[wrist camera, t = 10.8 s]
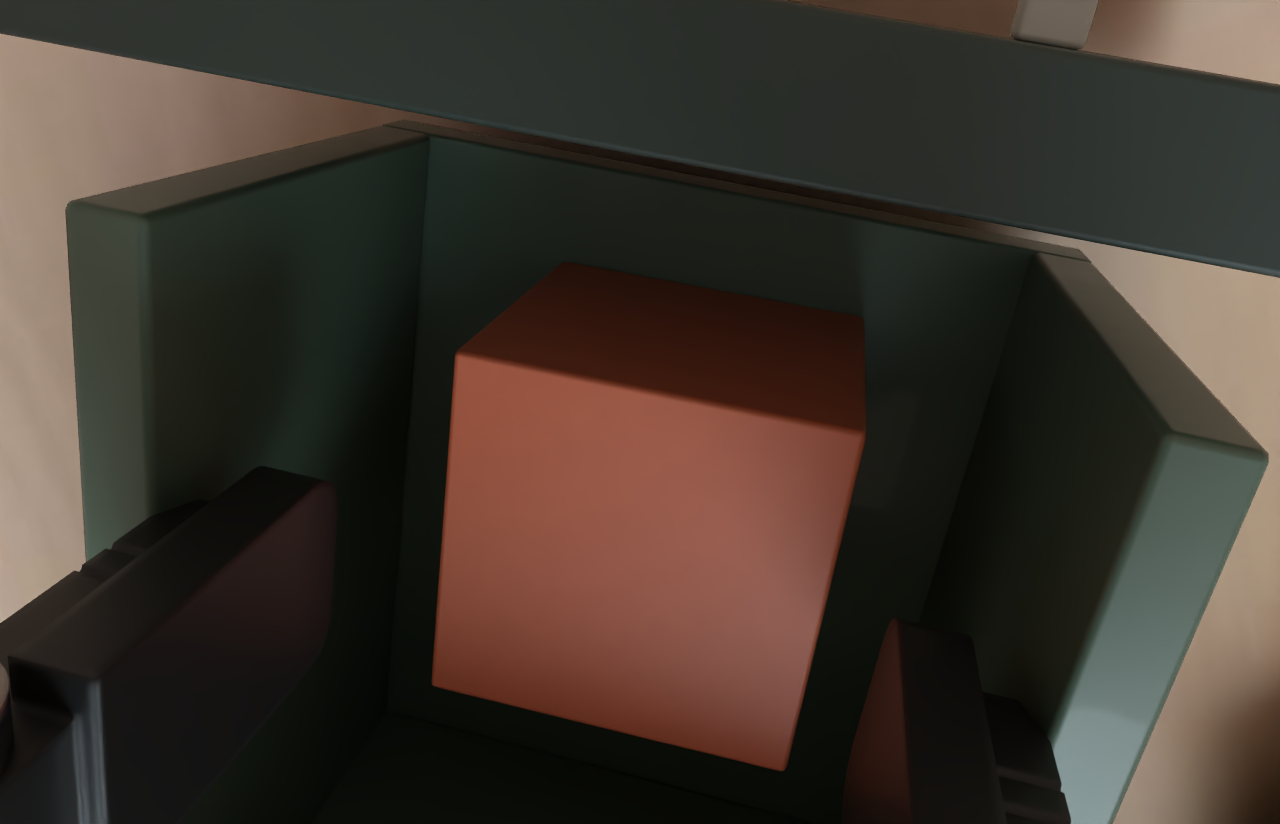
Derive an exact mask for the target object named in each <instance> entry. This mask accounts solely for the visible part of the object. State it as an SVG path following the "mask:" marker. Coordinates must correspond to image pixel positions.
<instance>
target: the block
mask: <svg viewBox="0 0 1280 824" xmlns="http://www.w3.org/2000/svg"><path fill="white" fill-rule="evenodd" d="M865 441H866V382H865V326H864V318H862V317H860V316H855V315H850V314H844V313H839V312H833V311H828V310H823V309H817V308H812V307H807V306H801V305H796V304H790V303H785V302H780V301H774V300H769V299H764V298H758V297H753V296H747V295H742V294H737V293H731V292H726V291H721V290H715V289H710V288H704V287H699V286H694V285H688V284H683V283H678V282H672V281H667V280H661V279H656V278H651V277H645V276H640V275H635V274H629V273H624V272H618V271H613V270H608V269H602V268H597V267H592V266H586V265H581V264H575V263H570V262H562V263H560V264H559V265H558V266H557V267H556V268H554V269H553V270H552V271H551V272H550V273H549V274H547V275H546V276H545V277H544V278H543V279H541V280H540V281H539V282H538V283H537V284H536V285H534V286H533V287H532V288H531V289H530V290H528V291H527V292H526V293H525V294H524V295H523V296H521V297H520V298H519V299H518V300H517V301H515V302H514V303H513V304H512V305H511V306H509V307H508V308H507V309H506V310H505V311H504V312H502V313H501V314H500V315H499V316H498V317H496V318H495V319H494V320H493V321H492V322H491V323H489V324H488V325H487V326H486V327H485V328H483V329H482V330H481V331H480V332H479V333H478V334H476V335H475V336H474V337H473V338H472V339H470V340H469V341H468V342H467V343H466V344H464V345H463V346H462V347H461V348H460V349H459V350H457V352H456V354H455V364H454V378H453V391H452V405H451V419H450V433H449V446H448V460H447V474H446V488H445V501H444V515H443V529H442V543H441V556H440V570H439V584H438V598H437V612H436V625H435V639H434V653H433V667H432V685H433V686H435V687H438V688H442V689H446V690H450V691H455V692H459V693H463V694H467V695H471V696H475V697H479V698H483V699H487V700H491V701H495V702H500V703H504V704H508V705H512V706H516V707H520V708H524V709H528V710H532V711H536V712H540V713H545V714H549V715H553V716H557V717H561V718H565V719H569V720H573V721H577V722H581V723H585V724H589V725H594V726H598V727H602V728H606V729H610V730H614V731H618V732H622V733H626V734H630V735H634V736H639V737H643V738H647V739H651V740H655V741H659V742H663V743H667V744H671V745H675V746H679V747H683V748H688V749H692V750H696V751H700V752H704V753H708V754H712V755H716V756H720V757H724V758H728V759H733V760H737V761H741V762H745V763H749V764H753V765H757V766H761V767H765V768H769V769H773V770H778V771H784V770H785V768H786V767H787V764H788V760H789V756H790V752H791V748H792V744H793V739H794V735H795V731H796V727H797V723H798V719H799V715H800V710H801V706H802V702H803V698H804V694H805V690H806V686H807V681H808V677H809V673H810V669H811V665H812V661H813V657H814V652H815V648H816V644H817V640H818V636H819V632H820V628H821V623H822V619H823V615H824V611H825V607H826V603H827V599H828V594H829V590H830V586H831V582H832V578H833V574H834V570H835V566H836V561H837V557H838V553H839V549H840V545H841V541H842V537H843V532H844V528H845V524H846V520H847V516H848V512H849V508H850V503H851V499H852V495H853V491H854V487H855V483H856V479H857V474H858V470H859V466H860V462H861V458H862V454H863V450H864V445H865Z"/></svg>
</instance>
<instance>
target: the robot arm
mask: <svg viewBox="0 0 1280 824" xmlns="http://www.w3.org/2000/svg"><path fill="white" fill-rule="evenodd" d="M337 513H338V499H337V492H336V489H335V487H334V485H333V484H332V483H331V482H329V481H325V480H321V479H317V478H313V477H309V476H304V475H300V474H296V473H292V472H288V471H284V470H279V469H275V468H271V467H267V466H259V467H256V468H255V469H253V470H251V471H250V472H249V473H247V474H246V475H245V476H244V477H242V478H241V479H240V480H238V481H237V482H236V483H234V484H233V485H232V486H230V487H229V488H228V489H226V490H225V491H224V492H222V493H221V494H220V495H218V496H217V497H216V498H214V499H213V500H212V501H211V502H210V501H206V500H202V499H198V500H195V501H192V502H190V503H187V504H184V505H181V506H178V507H176V508H173V509H170V510H167V511H164V512H162V513H159V514H156V515H153V516H151V517H149V518H147V519H146V520H144V521H143V522H142V523H140V524H139V525H137V526H136V527H135V528H133V529H132V530H130V531H129V532H128V533H126V534H125V535H123V536H122V537H121V538H119V539H118V540H116V541H115V542H114V543H113V546H112V548H111V549H106V548H105V549H104V550H102V551H101V552H100V553H98V554H97V555H95V556H94V557H93V558H91V559H90V560H88V561H87V562H86V563H84V564H83V565H82V569H81V571H80V572H78V571H73V572H72V573H70V574H69V575H67V576H66V577H65V578H63V579H62V580H60V581H59V582H58V583H56V584H55V585H53V586H52V587H51V588H49V589H48V590H46V591H45V592H44V593H42V594H41V595H39V596H38V597H37V598H35V599H34V600H32V601H31V602H30V603H28V604H27V605H25V606H24V607H23V608H21V609H20V610H18V611H17V612H16V613H14V614H13V615H11V616H10V617H9V618H7V619H6V620H4V621H3V622H2V623H0V824H181V823H182V822H183V821H184V820H185V819H186V817H187V816H188V815H189V814H190V812H191V811H192V810H193V809H194V808H195V806H196V805H197V804H198V803H199V802H200V800H201V799H202V798H203V797H204V796H205V794H206V793H207V792H208V791H209V790H210V788H211V787H212V786H213V785H214V784H215V782H216V781H217V780H218V779H219V778H220V776H221V775H222V774H223V773H224V772H225V770H226V769H227V768H228V767H229V766H230V764H231V763H232V762H233V761H234V760H235V758H236V757H237V756H238V755H239V754H240V752H241V751H242V750H243V749H244V748H245V746H246V745H247V744H248V743H249V742H250V740H251V739H252V738H253V737H254V736H255V734H256V733H257V732H258V731H259V730H260V728H261V727H262V726H263V725H264V724H265V722H266V721H267V720H268V719H269V718H270V716H271V715H272V714H273V713H274V712H275V710H276V709H277V708H278V707H279V706H280V704H281V703H282V702H283V701H284V700H285V698H286V697H287V696H288V695H289V694H290V692H291V691H292V690H293V689H294V688H295V686H296V685H297V684H298V683H299V682H300V680H301V679H302V678H303V677H304V676H305V674H306V673H307V672H308V671H309V670H310V668H311V667H312V666H313V664H314V662H315V661H316V659H317V657H318V655H319V654H320V652H321V649H322V647H323V645H324V642H325V640H326V637H327V634H328V630H329V627H330V623H331V618H332V611H333V595H334V575H335V554H336V534H337ZM1061 786H1062V783H1061V779H1060V775H1059V772H1058V768H1057V764H1056V760H1055V757H1054V753H1053V749H1052V745H1051V742H1050V740H1049V739H1048V738H1047V737H1046V735H1045V734H1044V733H1043V731H1042V730H1041V729H1040V728H1039V726H1038V725H1037V724H1036V722H1035V721H1034V720H1033V719H1032V717H1031V716H1030V715H1029V713H1028V712H1027V711H1026V710H1025V708H1024V707H1023V706H1022V704H1021V703H1020V702H1019V701H1018V700H1015V699H1011V698H1007V697H1003V696H998V695H994V694H990V693H986V692H982V687H981V682H980V677H979V671H978V666H977V661H976V655H975V650H974V644H973V641H972V638H971V636H969V635H967V634H963V633H958V632H954V631H950V630H946V629H942V628H937V627H933V626H929V625H925V624H920V623H916V622H912V621H908V620H904V619H899V618H893V619H892V620H891V622H890V623H889V626H888V628H887V630H886V633H885V636H884V639H883V643H882V646H881V649H880V653H879V656H878V660H877V663H876V666H875V670H874V673H873V676H872V680H871V683H870V687H869V690H868V693H867V697H866V700H865V704H864V707H863V710H862V714H861V717H860V721H859V724H858V727H857V731H856V734H855V737H854V741H853V745H852V749H851V753H850V757H849V762H848V767H847V772H846V779H845V786H844V794H843V805H842V824H1071V816H1070V813H1069V809H1068V805H1067V802H1066V798H1065V794H1064V793H1063V792H1061Z"/></svg>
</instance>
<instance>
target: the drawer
mask: <svg viewBox="0 0 1280 824" xmlns="http://www.w3.org/2000/svg"><path fill="white" fill-rule="evenodd" d="M1098 1H1099V0H1019V1H1018V5H1017V8H1016V12H1015V16H1014V19H1013V23H1012V26H1011V30H1010V32H1011V37H1012V38H1013V39H1010V38H1004V37H998V36H992V35H986V34H980V33H974V32H968V31H962V30H957V29H951V28H945V27H939V26H933V25H927V24H921V23H915V22H909V21H903V20H898V19H892V18H886V17H880V16H874V15H868V14H862V13H856V12H850V11H844V10H839V9H833V8H827V7H821V6H815V5H809V4H803V3H797V2H791V1H785V0H0V33H1V34H6V35H11V36H17V37H22V38H27V39H32V40H38V41H43V42H48V43H53V44H59V45H64V46H69V47H74V48H79V49H85V50H90V51H95V52H100V53H106V54H111V55H116V56H121V57H127V58H132V59H137V60H142V61H148V62H153V63H158V64H163V65H169V66H174V67H179V68H184V69H189V70H195V71H200V72H205V73H210V74H216V75H221V76H226V77H231V78H237V79H242V80H247V81H252V82H258V83H263V84H268V85H273V86H278V87H284V88H289V89H294V90H299V91H305V92H310V93H315V94H320V95H326V96H331V97H336V98H341V99H347V100H352V101H357V102H362V103H368V104H373V105H378V106H383V107H388V108H394V109H399V110H404V111H409V112H415V113H420V114H425V115H430V116H436V117H441V118H446V119H451V120H457V121H462V122H467V123H472V124H477V125H483V126H488V127H493V128H498V129H504V130H509V131H514V132H519V133H525V134H530V135H535V136H540V137H546V138H551V139H556V140H561V141H566V142H572V143H577V144H582V145H587V146H593V147H598V148H603V149H608V150H614V151H619V152H624V153H629V154H635V155H640V156H645V157H650V158H656V159H661V160H666V161H671V162H676V163H682V164H687V165H692V166H697V167H703V168H708V169H713V170H718V171H724V172H729V173H734V174H739V175H745V176H750V177H755V178H760V179H765V180H771V181H776V182H781V183H786V184H792V185H797V186H802V187H807V188H813V189H818V190H823V191H828V192H834V193H839V194H844V195H849V196H855V197H860V198H865V199H870V200H875V201H881V202H886V203H891V204H896V205H902V206H907V207H912V208H917V209H923V210H928V211H933V212H938V213H944V214H949V215H954V216H959V217H964V218H970V219H975V220H980V221H985V222H991V223H996V224H1001V225H1006V226H1012V227H1017V228H1022V229H1027V230H1033V231H1038V232H1043V233H1048V234H1053V235H1059V236H1064V237H1069V238H1074V239H1080V240H1085V241H1090V242H1095V243H1101V244H1106V245H1111V246H1116V247H1122V248H1127V249H1132V250H1137V251H1143V252H1148V253H1153V254H1158V255H1163V256H1169V257H1174V258H1179V259H1184V260H1190V261H1195V262H1200V263H1205V264H1211V265H1216V266H1221V267H1226V268H1232V269H1237V270H1242V271H1247V272H1252V273H1258V274H1263V275H1268V276H1273V277H1279V278H1280V85H1278V84H1273V83H1267V82H1261V81H1255V80H1250V79H1244V78H1238V77H1233V76H1227V75H1221V74H1215V73H1210V72H1204V71H1198V70H1192V69H1187V68H1181V67H1175V66H1169V65H1163V64H1157V63H1151V62H1145V61H1139V60H1133V59H1128V58H1122V57H1116V56H1110V55H1104V54H1098V53H1092V52H1086V51H1080V50H1078V49H1081V48H1082V47H1083V46H1084V44H1085V43H1086V40H1087V37H1088V34H1089V30H1090V27H1091V24H1092V20H1093V17H1094V14H1095V11H1096V7H1097V4H1098ZM65 211H66V228H67V245H68V263H69V280H70V297H71V314H72V331H73V348H74V365H75V382H76V399H77V416H78V434H79V451H80V468H81V485H82V502H83V519H84V536H85V553H86V562H87V561H88V560H90V559H91V558H93V557H94V556H95V555H97V554H98V553H100V552H101V551H102V550H104V549H105V548H106V549H111V548H112V546H113V543H114V542H115V541H116V540H118V539H119V538H121V537H122V536H123V535H125V534H126V533H128V532H129V531H130V530H132V529H133V528H135V527H136V526H137V525H139V524H140V523H142V522H143V521H144V520H146V519H147V518H149V517H151V516H153V515H156V514H159V513H162V512H164V511H167V510H170V509H173V508H176V507H178V506H181V505H184V504H187V503H190V502H192V501H195V500H198V499H202V500H206V501H210V502H211V501H212V500H213V499H214V498H216V497H217V496H218V495H220V494H221V493H222V492H224V491H225V490H226V489H228V488H229V487H230V486H232V485H233V484H234V483H236V482H237V481H238V480H240V479H241V478H242V477H244V476H245V475H246V474H247V473H249V472H250V471H251V470H253V469H255V468H256V467H259V466H267V467H271V468H275V469H279V470H284V471H288V472H292V473H296V474H300V475H304V476H309V477H313V478H317V479H321V480H325V481H329V482H331V483H332V484H333V485H334V487H335V489H336V492H337V499H338V513H337V534H336V554H335V575H334V595H333V611H332V618H331V623H330V627H329V630H328V634H327V637H326V640H325V642H324V645H323V647H322V649H321V652H320V654H319V655H318V657H317V659H316V661H315V662H314V664H313V666H312V667H311V668H310V670H309V671H308V672H307V673H306V674H305V676H304V677H303V678H302V679H301V680H300V682H299V683H298V684H297V685H296V686H295V688H294V689H293V690H292V691H291V692H290V694H289V695H288V696H287V697H286V698H285V700H284V701H283V702H282V703H281V704H280V706H279V707H278V708H277V709H276V710H275V712H274V713H273V714H272V715H271V716H270V718H269V719H268V720H267V721H266V722H265V724H264V725H263V726H262V727H261V728H260V730H259V731H258V732H257V733H256V734H255V736H254V737H253V738H252V739H251V740H250V742H249V743H248V744H247V745H246V746H245V748H244V749H243V750H242V751H241V752H240V754H239V755H238V756H237V757H236V758H235V760H234V761H233V762H232V763H231V764H230V766H229V767H228V768H227V769H226V770H225V772H224V773H223V774H222V775H221V776H220V778H219V779H218V780H217V781H216V782H215V784H214V785H213V786H212V787H211V788H210V790H209V791H208V792H207V793H206V794H205V796H204V797H203V798H202V799H201V800H200V802H199V803H198V804H197V805H196V806H195V808H194V809H193V810H192V811H191V812H190V814H189V815H188V816H187V817H186V819H185V820H184V821H183V822H182V823H181V824H842V805H843V794H844V786H845V779H846V772H847V767H848V762H849V757H850V753H851V749H852V745H853V741H854V737H855V734H856V731H857V727H858V724H859V721H860V717H861V714H862V710H863V707H864V704H865V700H866V697H867V693H868V690H869V687H870V683H871V680H872V676H873V673H874V670H875V666H876V663H877V660H878V656H879V653H880V649H881V646H882V643H883V639H884V636H885V633H886V630H887V628H888V626H889V623H890V622H891V620H892V619H893V618H899V619H904V620H908V621H912V622H916V623H920V624H925V625H929V626H933V627H937V628H942V629H946V630H950V631H954V632H958V633H963V634H967V635H969V636H971V638H972V641H973V644H974V650H975V655H976V661H977V666H978V671H979V677H980V682H981V687H982V692H986V693H990V694H994V695H998V696H1003V697H1007V698H1011V699H1015V700H1018V701H1019V702H1020V703H1021V704H1022V706H1023V707H1024V708H1025V710H1026V711H1027V712H1028V713H1029V715H1030V716H1031V717H1032V719H1033V720H1034V721H1035V722H1036V724H1037V725H1038V726H1039V728H1040V729H1041V730H1042V731H1043V733H1044V734H1045V735H1046V737H1047V738H1048V739H1049V740H1050V742H1051V745H1052V749H1053V753H1054V757H1055V760H1056V764H1057V768H1058V772H1059V775H1060V779H1061V783H1062V786H1061V792H1063V793H1064V794H1065V798H1066V802H1067V805H1068V809H1069V813H1070V816H1071V824H1112V823H1113V821H1114V819H1115V816H1116V814H1117V812H1118V810H1119V807H1120V805H1121V803H1122V800H1123V798H1124V796H1125V793H1126V791H1127V789H1128V786H1129V784H1130V782H1131V779H1132V777H1133V775H1134V773H1135V770H1136V768H1137V766H1138V763H1139V761H1140V759H1141V756H1142V754H1143V752H1144V749H1145V747H1146V745H1147V742H1148V740H1149V738H1150V736H1151V733H1152V731H1153V729H1154V726H1155V724H1156V722H1157V719H1158V717H1159V715H1160V712H1161V710H1162V708H1163V706H1164V703H1165V701H1166V699H1167V696H1168V694H1169V692H1170V689H1171V687H1172V685H1173V682H1174V680H1175V678H1176V675H1177V673H1178V671H1179V669H1180V666H1181V664H1182V662H1183V659H1184V657H1185V655H1186V652H1187V650H1188V648H1189V645H1190V643H1191V641H1192V638H1193V636H1194V634H1195V632H1196V629H1197V627H1198V625H1199V622H1200V620H1201V618H1202V615H1203V613H1204V611H1205V608H1206V606H1207V604H1208V602H1209V599H1210V597H1211V595H1212V592H1213V590H1214V588H1215V585H1216V583H1217V581H1218V578H1219V576H1220V574H1221V571H1222V569H1223V567H1224V565H1225V562H1226V560H1227V558H1228V555H1229V553H1230V551H1231V548H1232V546H1233V544H1234V541H1235V539H1236V537H1237V534H1238V532H1239V530H1240V528H1241V525H1242V523H1243V521H1244V518H1245V516H1246V514H1247V511H1248V509H1249V507H1250V504H1251V502H1252V500H1253V498H1254V495H1255V493H1256V491H1257V488H1258V486H1259V484H1260V481H1261V479H1262V477H1263V474H1264V472H1265V470H1266V467H1267V465H1268V462H1269V460H1268V453H1267V452H1266V451H1265V450H1264V448H1263V447H1262V446H1261V445H1260V444H1259V443H1258V442H1257V441H1256V440H1255V439H1254V438H1253V437H1252V436H1251V434H1250V433H1249V432H1248V431H1247V430H1246V429H1245V428H1244V427H1243V426H1242V425H1241V424H1240V423H1239V422H1238V420H1237V419H1236V418H1235V417H1234V416H1233V415H1232V414H1231V413H1230V412H1229V411H1228V410H1227V409H1226V407H1225V406H1224V405H1223V404H1222V403H1221V402H1220V401H1219V400H1218V399H1217V398H1216V397H1215V396H1214V395H1213V393H1212V392H1211V391H1210V390H1209V389H1208V388H1207V387H1206V386H1205V385H1204V384H1203V383H1202V382H1201V381H1200V379H1199V378H1198V377H1197V376H1196V375H1195V374H1194V373H1193V372H1192V371H1191V370H1190V369H1189V368H1188V367H1187V365H1186V364H1185V363H1184V362H1183V361H1182V360H1181V359H1180V358H1179V357H1178V356H1177V355H1176V354H1175V353H1174V351H1173V350H1172V349H1171V348H1170V347H1169V346H1168V345H1167V344H1166V343H1165V342H1164V341H1163V340H1162V339H1161V337H1160V336H1159V335H1158V334H1157V333H1156V332H1155V331H1154V330H1153V329H1152V328H1151V327H1150V326H1149V324H1148V323H1147V322H1146V321H1145V320H1144V319H1143V318H1142V317H1141V316H1140V315H1139V314H1138V313H1137V312H1136V310H1135V309H1134V308H1133V307H1132V306H1131V305H1130V304H1129V303H1128V302H1127V301H1126V300H1125V299H1124V298H1123V296H1122V295H1121V294H1120V293H1119V292H1118V291H1117V290H1116V289H1115V288H1114V287H1113V286H1112V285H1111V284H1110V282H1109V281H1108V280H1107V279H1106V278H1105V277H1104V276H1103V275H1102V274H1101V273H1100V272H1099V271H1098V270H1097V268H1096V267H1095V266H1094V265H1093V264H1091V261H1090V260H1089V259H1088V258H1087V257H1086V256H1085V255H1084V254H1083V252H1082V251H1080V250H1079V249H1074V248H1069V247H1064V246H1059V245H1054V244H1048V243H1043V242H1038V241H1033V240H1028V239H1022V238H1017V237H1012V236H1007V235H1002V234H996V233H991V232H986V231H981V230H976V229H970V228H965V227H960V226H955V225H950V224H944V223H939V222H934V221H929V220H923V219H918V218H913V217H908V216H903V215H897V214H892V213H887V212H882V211H877V210H871V209H866V208H861V207H856V206H851V205H845V204H840V203H835V202H830V201H825V200H819V199H814V198H809V197H804V196H799V195H793V194H788V193H783V192H778V191H773V190H767V189H762V188H757V187H752V186H746V185H741V184H736V183H731V182H726V181H720V180H715V179H710V178H705V177H700V176H694V175H689V174H684V173H679V172H674V171H668V170H663V169H658V168H653V167H648V166H642V165H637V164H632V163H627V162H622V161H616V160H611V159H606V158H601V157H596V156H590V155H585V154H580V153H575V152H569V151H564V150H559V149H554V148H549V147H543V146H538V145H533V144H528V143H523V142H517V141H512V140H507V139H502V138H497V137H491V136H486V135H481V134H476V133H471V132H465V131H460V130H455V129H450V128H445V127H439V126H434V125H429V124H424V123H419V122H413V121H408V120H401V121H397V122H393V123H389V124H385V125H382V126H379V127H375V128H371V129H367V130H363V131H359V132H355V133H350V134H346V135H342V136H338V137H334V138H330V139H326V140H321V141H317V142H313V143H309V144H305V145H301V146H297V147H292V148H288V149H284V150H280V151H276V152H272V153H268V154H263V155H259V156H255V157H251V158H247V159H243V160H239V161H234V162H230V163H226V164H222V165H218V166H214V167H209V168H205V169H201V170H197V171H193V172H189V173H185V174H180V175H176V176H172V177H168V178H164V179H160V180H156V181H151V182H147V183H143V184H139V185H135V186H131V187H127V188H122V189H118V190H114V191H110V192H106V193H102V194H98V195H93V196H89V197H85V198H81V199H77V200H73V201H70V202H69V203H68V204H67V207H66V210H65ZM562 262H570V263H575V264H581V265H586V266H592V267H597V268H602V269H608V270H613V271H618V272H624V273H629V274H635V275H640V276H645V277H651V278H656V279H661V280H667V281H672V282H678V283H683V284H688V285H694V286H699V287H704V288H710V289H715V290H721V291H726V292H731V293H737V294H742V295H747V296H753V297H758V298H764V299H769V300H774V301H780V302H785V303H790V304H796V305H801V306H807V307H812V308H817V309H823V310H828V311H833V312H839V313H844V314H850V315H855V316H860V317H862V318H864V326H865V382H866V441H865V445H864V450H863V454H862V458H861V462H860V466H859V470H858V474H857V479H856V483H855V487H854V491H853V495H852V499H851V503H850V508H849V512H848V516H847V520H846V524H845V528H844V532H843V537H842V541H841V545H840V549H839V553H838V557H837V561H836V566H835V570H834V574H833V578H832V582H831V586H830V590H829V594H828V599H827V603H826V607H825V611H824V615H823V619H822V623H821V628H820V632H819V636H818V640H817V644H816V648H815V652H814V657H813V661H812V665H811V669H810V673H809V677H808V681H807V686H806V690H805V694H804V698H803V702H802V706H801V710H800V715H799V719H798V723H797V727H796V731H795V735H794V739H793V744H792V748H791V752H790V756H789V760H788V764H787V767H786V768H785V770H784V771H778V770H773V769H769V768H765V767H761V766H757V765H753V764H749V763H745V762H741V761H737V760H733V759H728V758H724V757H720V756H716V755H712V754H708V753H704V752H700V751H696V750H692V749H688V748H683V747H679V746H675V745H671V744H667V743H663V742H659V741H655V740H651V739H647V738H643V737H639V736H634V735H630V734H626V733H622V732H618V731H614V730H610V729H606V728H602V727H598V726H594V725H589V724H585V723H581V722H577V721H573V720H569V719H565V718H561V717H557V716H553V715H549V714H545V713H540V712H536V711H532V710H528V709H524V708H520V707H516V706H512V705H508V704H504V703H500V702H495V701H491V700H487V699H483V698H479V697H475V696H471V695H467V694H463V693H459V692H455V691H450V690H446V689H442V688H438V687H435V686H433V685H432V667H433V653H434V639H435V625H436V612H437V598H438V584H439V570H440V556H441V543H442V529H443V515H444V501H445V488H446V474H447V460H448V446H449V433H450V419H451V405H452V391H453V378H454V364H455V354H456V352H457V350H459V349H460V348H461V347H462V346H463V345H464V344H466V343H467V342H468V341H469V340H470V339H472V338H473V337H474V336H475V335H476V334H478V333H479V332H480V331H481V330H482V329H483V328H485V327H486V326H487V325H488V324H489V323H491V322H492V321H493V320H494V319H495V318H496V317H498V316H499V315H500V314H501V313H502V312H504V311H505V310H506V309H507V308H508V307H509V306H511V305H512V304H513V303H514V302H515V301H517V300H518V299H519V298H520V297H521V296H523V295H524V294H525V293H526V292H527V291H528V290H530V289H531V288H532V287H533V286H534V285H536V284H537V283H538V282H539V281H540V280H541V279H543V278H544V277H545V276H546V275H547V274H549V273H550V272H551V271H552V270H553V269H554V268H556V267H557V266H558V265H559V264H560V263H562Z"/></svg>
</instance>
